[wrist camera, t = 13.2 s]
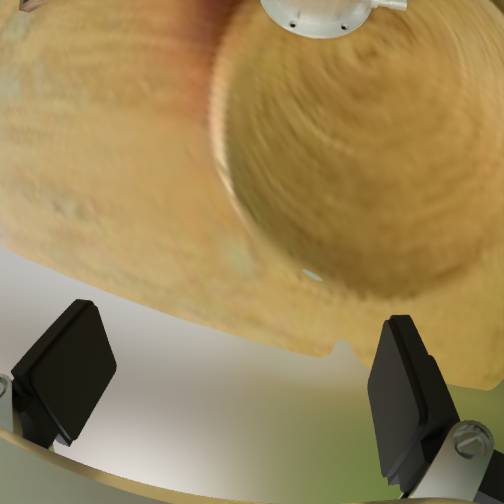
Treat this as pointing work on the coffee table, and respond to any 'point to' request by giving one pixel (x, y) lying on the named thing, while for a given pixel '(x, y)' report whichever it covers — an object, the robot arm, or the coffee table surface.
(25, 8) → the walnut frame
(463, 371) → the coffee table surface
